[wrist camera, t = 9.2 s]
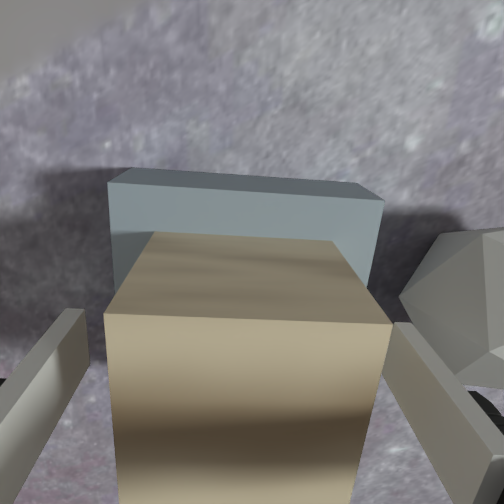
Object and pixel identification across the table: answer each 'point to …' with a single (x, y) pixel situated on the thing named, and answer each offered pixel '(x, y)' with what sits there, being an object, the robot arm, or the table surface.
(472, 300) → the die
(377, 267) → the table surface
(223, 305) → the maple block
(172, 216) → the plinth
